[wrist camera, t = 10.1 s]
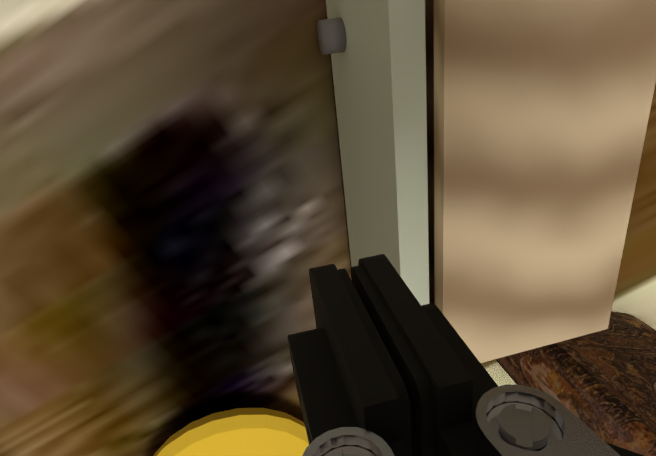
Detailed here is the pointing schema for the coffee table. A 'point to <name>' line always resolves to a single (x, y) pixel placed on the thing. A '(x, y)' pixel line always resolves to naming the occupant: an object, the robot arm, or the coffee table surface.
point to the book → (600, 380)
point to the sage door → (382, 129)
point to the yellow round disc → (239, 435)
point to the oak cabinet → (532, 162)
